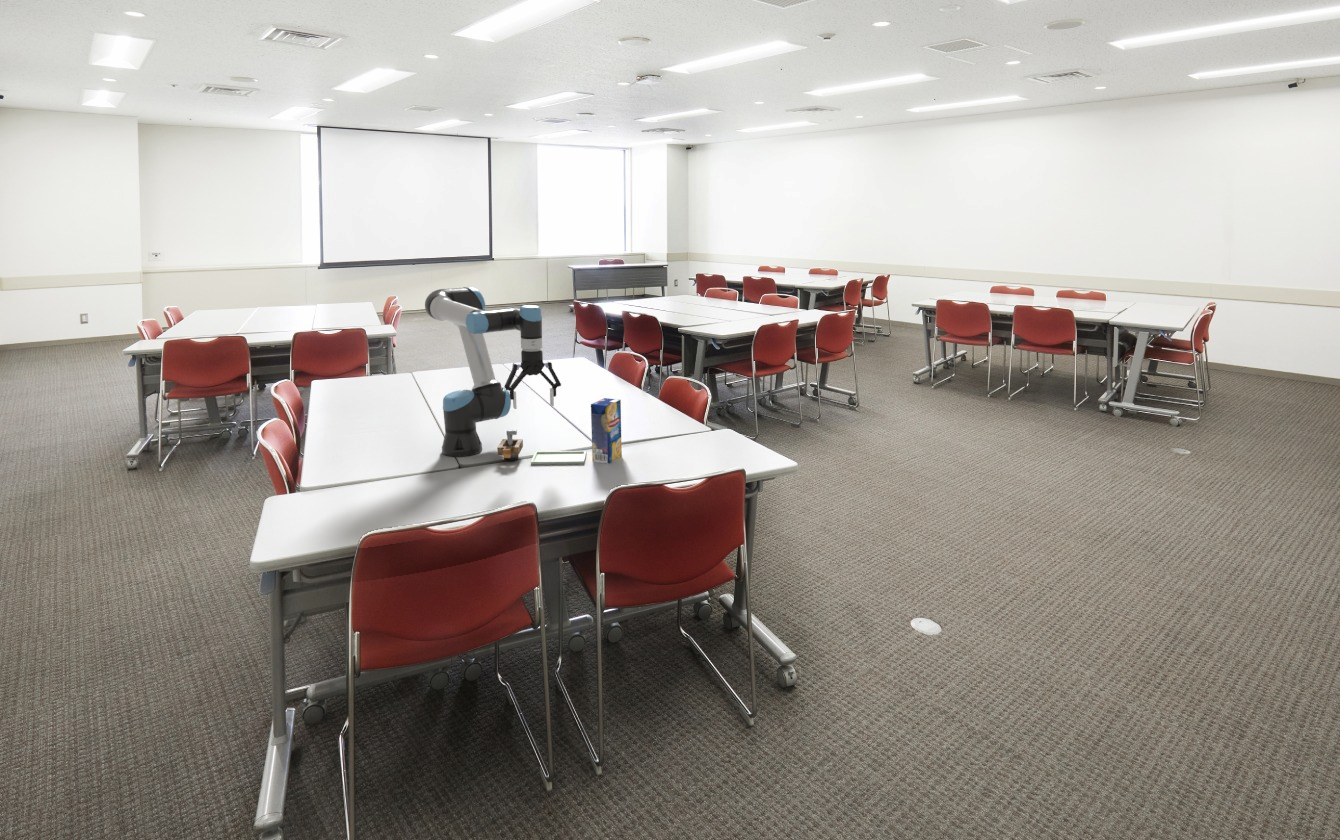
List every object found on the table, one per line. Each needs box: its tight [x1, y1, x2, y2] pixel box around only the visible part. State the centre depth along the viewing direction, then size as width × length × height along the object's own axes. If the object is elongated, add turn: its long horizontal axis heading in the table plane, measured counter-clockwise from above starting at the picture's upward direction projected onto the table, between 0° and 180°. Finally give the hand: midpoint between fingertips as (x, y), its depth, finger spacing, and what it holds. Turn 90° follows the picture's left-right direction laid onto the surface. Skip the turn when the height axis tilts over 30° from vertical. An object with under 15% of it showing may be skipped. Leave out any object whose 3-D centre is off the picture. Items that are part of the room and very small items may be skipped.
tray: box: [530, 450, 587, 466], centre depth 281 cm, size 20×13×1 cm, turn 92°
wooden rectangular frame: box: [496, 438, 524, 458], centre depth 278 cm, size 14×8×3 cm, turn 2°
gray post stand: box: [503, 429, 520, 463], centre depth 280 cm, size 6×6×12 cm
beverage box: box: [590, 397, 623, 464], centre depth 280 cm, size 7×11×22 cm, turn 158°
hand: (533, 406), depth 273 cm, fingers open, 13 cm apart
